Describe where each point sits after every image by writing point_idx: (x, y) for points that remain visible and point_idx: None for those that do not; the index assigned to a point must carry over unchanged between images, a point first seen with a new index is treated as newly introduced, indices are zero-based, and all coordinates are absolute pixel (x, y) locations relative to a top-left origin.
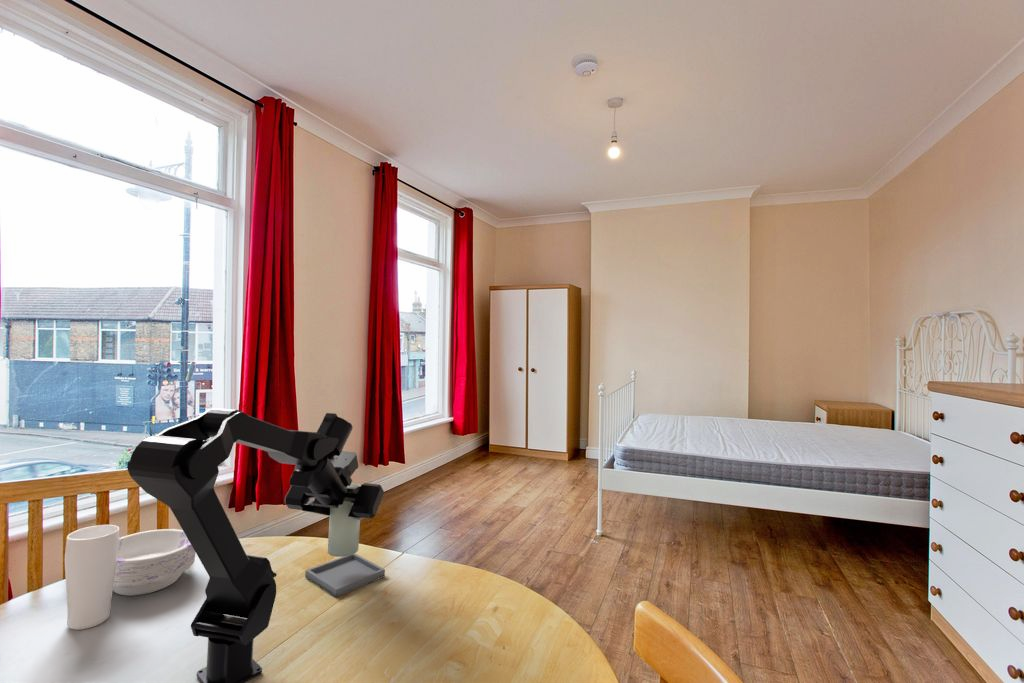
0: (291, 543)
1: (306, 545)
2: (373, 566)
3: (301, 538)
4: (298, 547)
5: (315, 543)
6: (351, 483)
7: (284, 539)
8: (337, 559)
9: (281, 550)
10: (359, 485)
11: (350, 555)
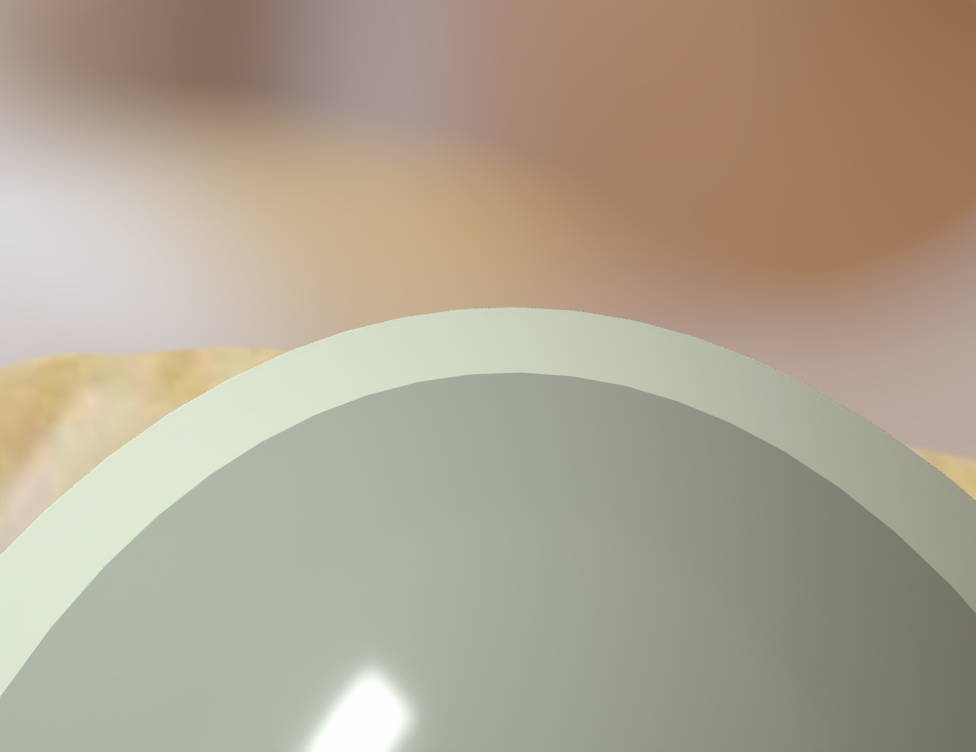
0: (64, 419)
1: (152, 424)
2: None
3: (106, 360)
4: None
5: (195, 394)
6: (475, 334)
7: (17, 386)
8: None
9: (23, 506)
10: (854, 454)
11: None
